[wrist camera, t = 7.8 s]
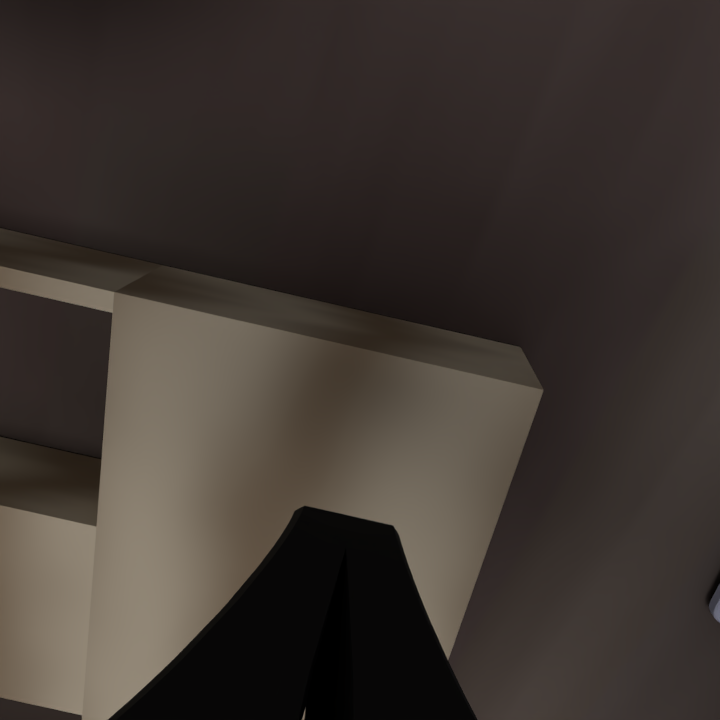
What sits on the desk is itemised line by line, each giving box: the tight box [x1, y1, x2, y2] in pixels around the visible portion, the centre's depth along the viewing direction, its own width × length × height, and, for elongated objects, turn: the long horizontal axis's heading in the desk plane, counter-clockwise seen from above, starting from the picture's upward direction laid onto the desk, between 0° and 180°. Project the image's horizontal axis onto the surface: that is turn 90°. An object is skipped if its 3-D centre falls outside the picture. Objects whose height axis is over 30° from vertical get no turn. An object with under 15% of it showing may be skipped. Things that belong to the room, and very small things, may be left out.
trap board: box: [0, 228, 544, 720], centre depth 18 cm, size 22×20×4 cm
